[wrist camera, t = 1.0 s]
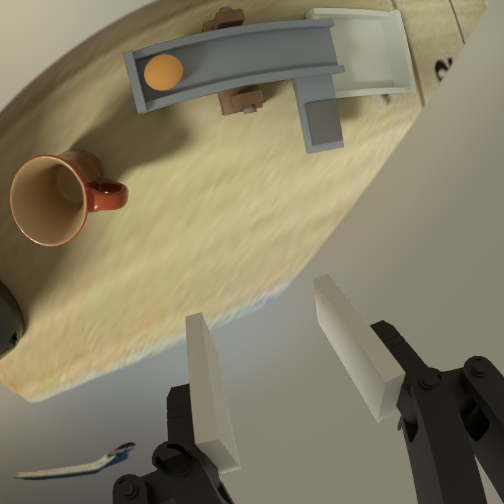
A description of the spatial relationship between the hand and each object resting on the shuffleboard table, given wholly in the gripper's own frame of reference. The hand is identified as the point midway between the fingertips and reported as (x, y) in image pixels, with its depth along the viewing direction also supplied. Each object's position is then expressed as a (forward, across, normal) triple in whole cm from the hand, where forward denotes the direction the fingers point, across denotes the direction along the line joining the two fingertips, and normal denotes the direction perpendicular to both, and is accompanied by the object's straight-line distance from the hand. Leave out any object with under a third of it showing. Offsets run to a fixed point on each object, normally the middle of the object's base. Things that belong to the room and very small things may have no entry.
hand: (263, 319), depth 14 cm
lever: (+19, +5, +10) cm, 22 cm away
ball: (+17, -2, +14) cm, 22 cm away
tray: (+25, +21, +14) cm, 36 cm away
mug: (+25, -14, +6) cm, 29 cm away
